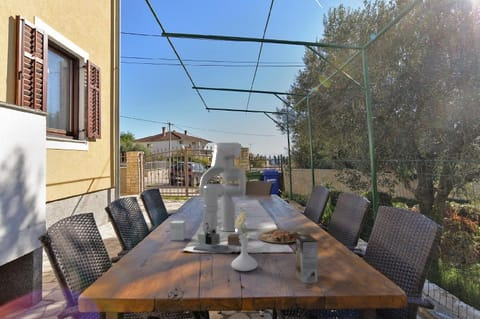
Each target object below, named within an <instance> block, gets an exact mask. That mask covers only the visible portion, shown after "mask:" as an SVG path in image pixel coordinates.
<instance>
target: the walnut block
mask: <svg viewBox="0 0 480 319" xmlns="http://www.w3.org/2000/svg"><path fill="white" fill-rule="evenodd" d="M238 236H240V234H235V233H230V234H228V235H227V245H228V246H233V245H237V244H238V245H239V244H241V240H240V238H239V237H238ZM238 245H237V246H238Z"/></svg>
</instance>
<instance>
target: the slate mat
mask: <svg viewBox="0 0 480 319" xmlns="http://www.w3.org/2000/svg"><path fill="white" fill-rule="evenodd" d="M228 247H229V245H228V244H217V245H214V246H211V245H208V244H205V243H199V244H197V245H195V246H194V247H193V251H200V252H201V251H203V252H211V253H224V252H225V250H227V249H228Z"/></svg>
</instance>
